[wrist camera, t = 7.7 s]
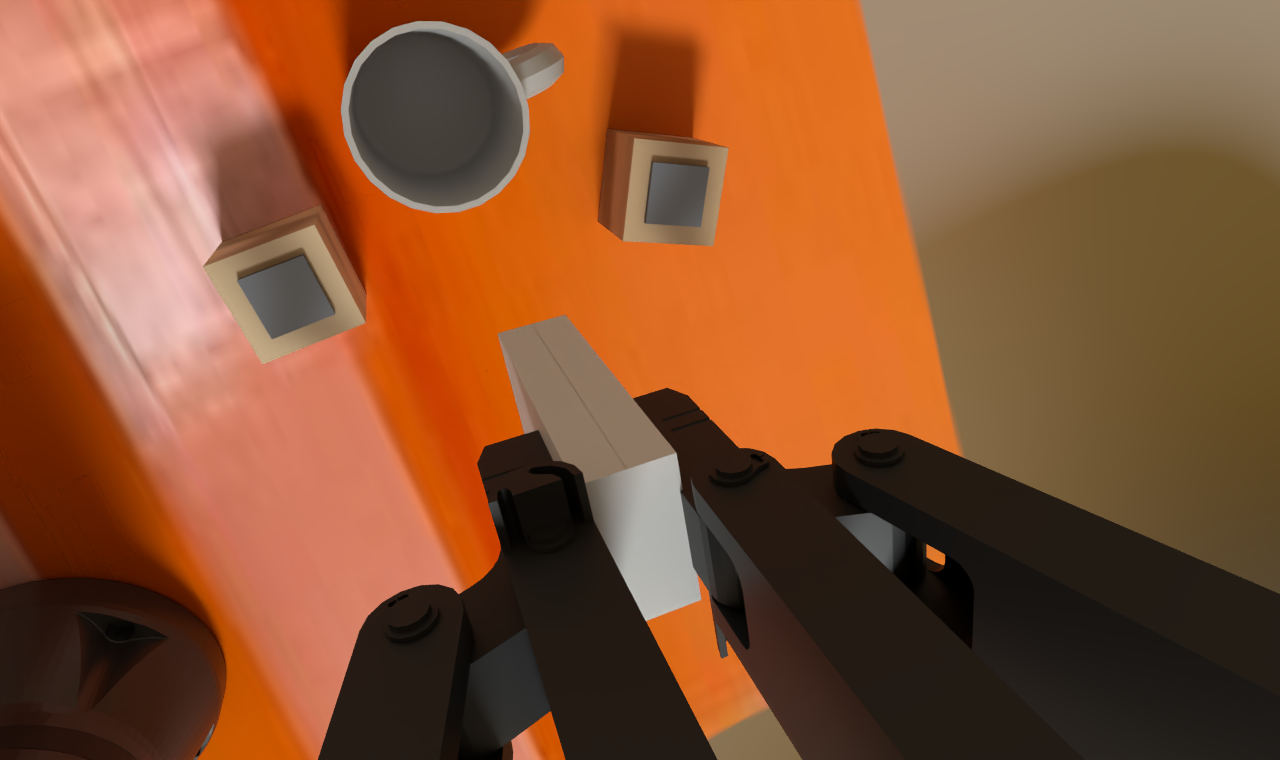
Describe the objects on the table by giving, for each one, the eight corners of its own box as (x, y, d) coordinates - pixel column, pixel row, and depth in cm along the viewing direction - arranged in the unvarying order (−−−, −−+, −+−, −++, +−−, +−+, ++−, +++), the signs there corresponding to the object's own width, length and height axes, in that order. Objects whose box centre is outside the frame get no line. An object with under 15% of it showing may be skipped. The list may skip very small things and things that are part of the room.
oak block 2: (597, 221, 43) (624, 242, 38) (606, 128, 41) (636, 138, 37) (680, 226, 45) (715, 247, 40) (692, 137, 43) (731, 148, 38)
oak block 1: (274, 329, 40) (262, 366, 35) (222, 241, 38) (201, 268, 33) (366, 293, 41) (365, 324, 36) (320, 204, 38) (313, 226, 34)
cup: (316, 62, 36) (302, 67, 28) (509, -22, 37) (546, -40, 29) (395, 203, 39) (401, 242, 31) (569, 122, 40) (616, 140, 33)
